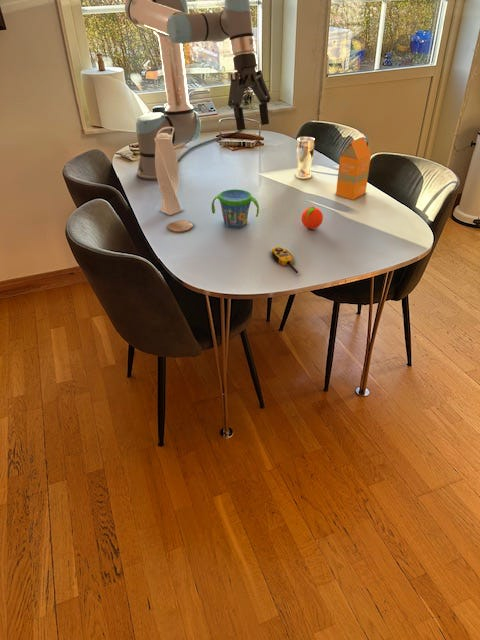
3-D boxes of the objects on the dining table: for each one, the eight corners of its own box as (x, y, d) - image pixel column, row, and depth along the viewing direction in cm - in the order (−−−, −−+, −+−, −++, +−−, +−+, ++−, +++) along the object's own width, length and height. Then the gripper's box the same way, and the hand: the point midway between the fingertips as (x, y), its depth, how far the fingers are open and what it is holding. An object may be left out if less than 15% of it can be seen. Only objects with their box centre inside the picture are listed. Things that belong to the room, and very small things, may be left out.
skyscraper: (174, 204, 173) (166, 124, 156) (187, 210, 168) (180, 128, 152) (156, 211, 168) (146, 129, 152) (169, 217, 164) (160, 133, 147)
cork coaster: (171, 221, 161) (171, 220, 161) (194, 222, 160) (194, 221, 160) (165, 231, 154) (165, 230, 154) (189, 232, 154) (189, 231, 153)
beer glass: (292, 178, 194) (295, 140, 185) (297, 172, 199) (299, 135, 190) (309, 180, 192) (312, 142, 183) (313, 174, 197) (316, 137, 188)
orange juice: (365, 193, 180) (373, 138, 168) (353, 199, 174) (360, 144, 163) (348, 188, 184) (354, 134, 172) (335, 194, 179) (341, 140, 167)
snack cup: (262, 220, 161) (262, 191, 155) (253, 233, 153) (253, 203, 147) (218, 215, 165) (217, 186, 159) (208, 227, 156) (206, 198, 150)
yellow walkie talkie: (283, 244, 142) (305, 267, 130) (283, 250, 143) (305, 273, 131) (268, 247, 141) (289, 270, 129) (268, 253, 142) (289, 276, 130)
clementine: (315, 235, 151) (317, 214, 147) (295, 230, 154) (296, 209, 150) (325, 226, 156) (327, 205, 152) (306, 221, 159) (307, 201, 155)
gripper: (228, 52, 136) (239, 130, 145) (275, 51, 154) (283, 121, 162) (209, 58, 141) (221, 133, 150) (257, 55, 158) (265, 123, 167)
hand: (253, 127), depth 156 cm, fingers open, 13 cm apart
